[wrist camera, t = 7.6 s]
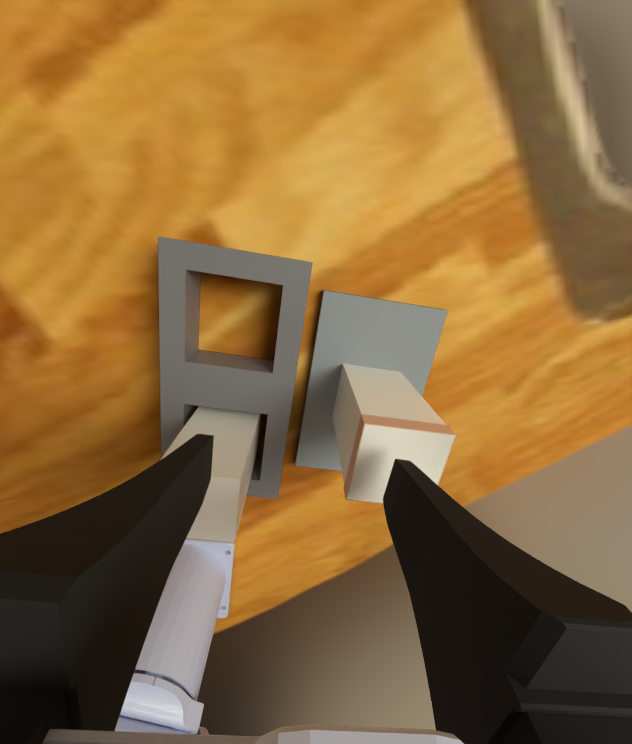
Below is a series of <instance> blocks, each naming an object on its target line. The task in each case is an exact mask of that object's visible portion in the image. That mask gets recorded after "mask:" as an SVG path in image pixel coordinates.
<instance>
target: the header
mask: <svg viewBox="0 0 632 744" xmlns="http://www.w3.org/2000/svg"><path fill="white" fill-rule="evenodd" d="M311 269H312V262H307V261H301V260H295V259H289V258H283V257H277V256H271V255H266V254H260V253H254V252H248V251H242V250H236V249H230V248H224V247H218V246H213V245H207V244H201V243H195V242H189V241H183V240H177V239H171V238H165V237H159V236H158V270H159V337H160V404H161V458H162V457H163V455H164V454H165V452H166V451H167V450H168V448H169V447H170V446H171V444H172V443H173V441H174V440H175V439H176V437H177V436H178V434H179V433H180V432H181V430H182V429H183V428H184V426H185V425H186V423H187V422H188V421H189V419H190V418H191V416H192V415H193V414H194V412H195V411H196V409H197V406H204V407H212V408H220V409H228V410H236V411H244V412H252V413H260V414H268V417H267V425H266V434H265V442H264V451H263V458H255V462H254V466H253V470H252V475H251V479H250V483H249V487H248V491H247V495H246V496H255V497H265V498H275V499H278V494H279V487H280V480H281V473H282V467H283V460H284V453H285V446H286V439H287V432H288V426H289V419H290V412H291V405H292V398H293V392H294V385H295V378H296V371H297V364H298V358H299V351H300V344H301V337H302V330H303V324H304V317H305V310H306V303H307V296H308V290H309V283H310V276H311ZM201 272H205V273H211V274H217V275H223V276H229V277H236V278H242V279H248V280H254V281H260V282H266V283H273V284H279V285H283V291H282V299H281V308H280V316H279V324H278V333H277V341H276V350H275V358H274V360H268V359H261V358H254V357H247V356H239V355H232V354H225V353H218V352H211V351H204V350H198V342H199V308H200V274H201Z"/></svg>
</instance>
